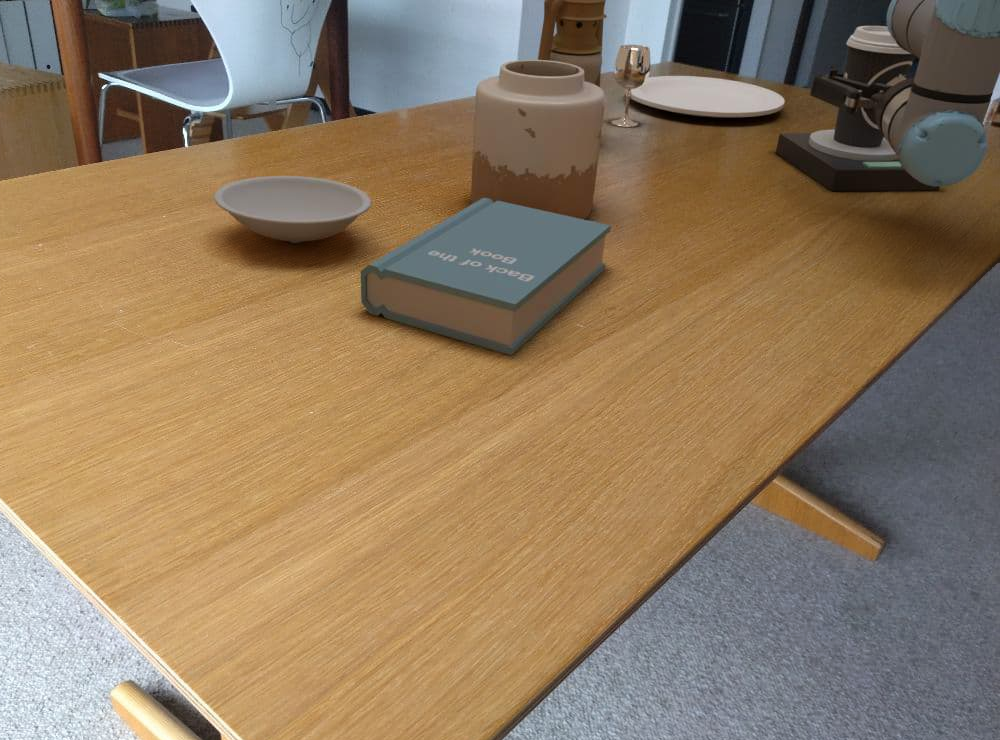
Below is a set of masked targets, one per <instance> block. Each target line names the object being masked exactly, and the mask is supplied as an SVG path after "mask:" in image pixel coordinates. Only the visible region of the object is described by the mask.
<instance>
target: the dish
mask: <svg viewBox="0 0 1000 740" xmlns="http://www.w3.org/2000/svg"><path fill="white" fill-rule="evenodd" d="M213 197H214V202H215V204H216V205H217V206H218V207H219V208H220V209H222V210H223V211H225V212H227V213H228V214H229V215H230V216H232V218H234V219H235V220H236V222H238V223H240V224H241V225H242V226H244V227H245V228H247V229H249V230H250V231H252V232H254V233H256V234H258V235H260V236H263V237H266V238H269V239H274V240H279V241H286V242H289V243H293V244H298V243H302V242H310V241H319V240H322V239H327V238H330V237H333V236H335V235H336V234H338V233H341V232H342V231H344V230H345V229H346V228H348V227H349V226H350V225H351V224H352V223H354V221H356V220H357V218H358V217H360V216H362V215H363V214H365V213H366V212H368V211H369V209H370V208H371V205H372V201H371V198H370V196H369V195H368V194H367V193H366V192H365V191H363V190H361V189H360V188H357V187H356V186H353V185H350V184H347V183H344V182H340V181H337V180H333V179H332V180H331V179H326V178H320V177H312V176H302V175H301V176H299V175H269V176H268V175H267V176H258V177H250V178H245V179H239V180H236V181H232V182H229V183H227V184H225V185H223V186H221V187H220V188H218V189H217V190H216V191H215V192H214V196H213Z"/></svg>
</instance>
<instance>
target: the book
mask: <svg viewBox="0 0 1000 740" xmlns="http://www.w3.org/2000/svg"><path fill="white" fill-rule="evenodd" d="M610 232H611V225H610V224H606V223H601V222H596V221H592V220H587V219H584V220H583V219H579V218H574V217H570V216H565V215H561V214H556V213H552V212H547V211H543V210H538V209H533V208H529V207H524V206H520V205H515V204H511V203H506V202H502V201H496V202H494V203H493V202H492V200H491V199H488V198H482V199H480V200H479V201H477V202H475V203H473V204H472V203H471V204H470V205H468V206H467V207H465V208H463V209H461V210H460V211H458V212H456V213H455V214H453V215H451V216H449V217H448V218H446V219H445V220H442V221H441V222H439V223H437V224H436V225H434V226H433V227H431V228H429V229H427V230H426V231H424V232H422V233H421V234H418V235H417V236H416V237H414V238H412V239H410V240H408V241H407V242H405V243H403V244H402V245H400V246H398V247H396V248H395V249H393V250H391V251H390V252H388V253H386V254H384V255H383V256H381V257H379V258H378V259H376V260H374V261H373V262H371V263H370V264H368V265H366V266H365V267H364V268H362V270H360V298H361V299H360V302H361V304H362V305H363V307H364V308H365V309H366V310H367V312H368V313H369V314H370V315H374V316H379V315H382V316H383V317H384V318H385V319H388V320H390V321H394V322H398V323H401V324H404V325H408V326H411V327H415V328H418V329H421V330H425V331H428V332H432V333H434V334H438V335H441V336H444V337H448V338H452V339H455V340H458V341H461V342H465V343H468V344H472V345H475V346H478V347H482V348H485V349H488V350H492V351H495V352H499V353H502V354H506V355H508V356H513V355H514V354H515V353H516V352H517V351H518V350H519V349H521V347H522V346H523V345H525V344H526V343H527V342H528V341H529V340H530V339H531V338H532V337H534V335H536V334H537V333H538V332H539V331H540V330H541V329H542V328H543V327H544V326H545V325H546V324H548V323H549V322H550V321H551V320H552V319H553V318H554V317H556V315H557V314H558V313H560V311H562V310H563V309H564V308H566V306H567V305H568V304H569V303H571V301H573V299H574V298H576V297H577V296H578V295H579V294H580V293H582V292H583V290H584V289H586V288H587V287H588V286H589V285H590V284H591V283H592V282H594V280H595V279H596V278H597V277H598V276H600V275H601V274H602V273H603V272H604V271H605V270H606V263H605V262H603V257H604V251H605V242H606V236H607V235H608V234H609V233H610Z"/></svg>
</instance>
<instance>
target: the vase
mask: <svg viewBox="0 0 1000 740" xmlns="http://www.w3.org/2000/svg"><path fill="white" fill-rule="evenodd" d="M498 74H499V75H496V76H491V77H488V78H485V79H483V80H482V81H480V82H479V83H478V84H477V86H476V89H475V97H474V99H475V100H474V118H473V119H474V120H473V142H472V165H471V185H470V186H471V189H470V203H471V205H472V204H473V203H475V202H477V201H479V200H480V199H482V198H488V199H491V200H492V202H493V203H494V202H496V201H502V202H506V203H511V204H515V205H520V206H524V207H529V208H533V209H538V210H543V211H547V212H552V213H556V214H561V215H565V216H570V217H574V218H579V219H583V220H587V218H588V217H589V216H590V215H591V213H592V210H593V206H594V205H593V204H594V198H595V188H596V180H597V174H598V165H599V156H600V147H601V140H602V131H603V123H604V115H605V107H606V93H605V91H604V90H603V89H602V88H601V86H600V87H598V86H596V85H594V84H592V83H589V82H586V81H584V70H583V69H582V68H581V67H579V66H576V65H573V64H569V63H564V62H557V61H548V60H538V59H521V60H519V59H518V60H511V61H507V62H505V63H503V64H501V66H500V68H499V73H498Z"/></svg>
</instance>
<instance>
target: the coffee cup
mask: <svg viewBox="0 0 1000 740" xmlns="http://www.w3.org/2000/svg"><path fill="white" fill-rule="evenodd" d="M845 44H846V45H847V46H848V51H847V57H846V63H845V69H844V74H843V78H846V79H850V80H854V81H857V82H861V83H865V84H869V85H871V84H875V83H882V84H886V85H889V86H894V85H895V84H897V83H899V82H901V81H903V80H906V79H908V78H907V77H908V76H909V73H910V70H911V67H912V65H913V62H914V60H915V57H916V56H915V55H914V54H912V53H910V52H908V51H906V50H903V49H902V48H900V47H899V46H898V45H897V43H896V41H895V40H894V39H893V37H892V36H891V34H890V32H889V30H888V27H887V26H884V25H883V26H882V25H861V26H857V27H856V28H855V30H854V32H853V34H851V35H850V36H849V38H848V39H847V41H846V43H845ZM880 92H883V91H881V90H880ZM880 92H879V93H880ZM834 127H835V128H834V130H835V133H834V140H835V141H837V142H839V143H842V144H845V145H849V146H854V147H864V148H872V147H878V146H880V145H881V143H882V140H883V138H884V136H883V134H882V133H881V131H880V130H879V128H878V125H877V122H876V116H875V115H873V114H870V113H866V112H864V110H863V108H861V107H858V110H857V111H856V112H855V114H848V113H846V112H844V111H843V110H842V109H841V108H838V110H837V117H836V121H835V126H834Z"/></svg>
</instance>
